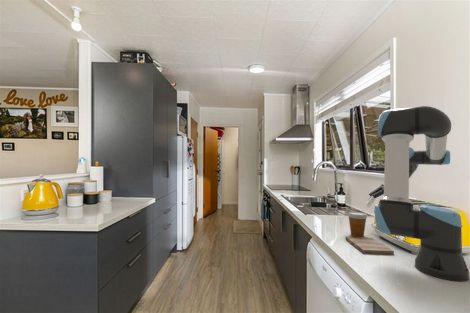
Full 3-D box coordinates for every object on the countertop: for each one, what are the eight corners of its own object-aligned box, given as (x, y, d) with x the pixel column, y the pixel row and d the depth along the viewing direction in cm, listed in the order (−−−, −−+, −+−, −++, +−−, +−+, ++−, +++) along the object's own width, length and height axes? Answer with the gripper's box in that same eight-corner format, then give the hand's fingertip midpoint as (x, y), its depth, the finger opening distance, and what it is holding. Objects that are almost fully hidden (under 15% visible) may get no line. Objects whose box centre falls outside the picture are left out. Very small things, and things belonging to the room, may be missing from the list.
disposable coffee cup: (362, 233, 135) (362, 211, 136) (370, 238, 126) (370, 215, 126) (345, 232, 136) (345, 211, 137) (351, 237, 127) (351, 214, 127)
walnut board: (393, 254, 104) (393, 251, 104) (363, 253, 104) (363, 249, 104) (371, 240, 122) (371, 237, 123) (345, 239, 123) (345, 236, 123)
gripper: (424, 187, 125) (402, 217, 120) (382, 183, 149) (363, 208, 144) (416, 177, 124) (394, 207, 119) (375, 174, 147) (356, 199, 143)
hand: (377, 208), depth 132 cm, fingers open, 13 cm apart
